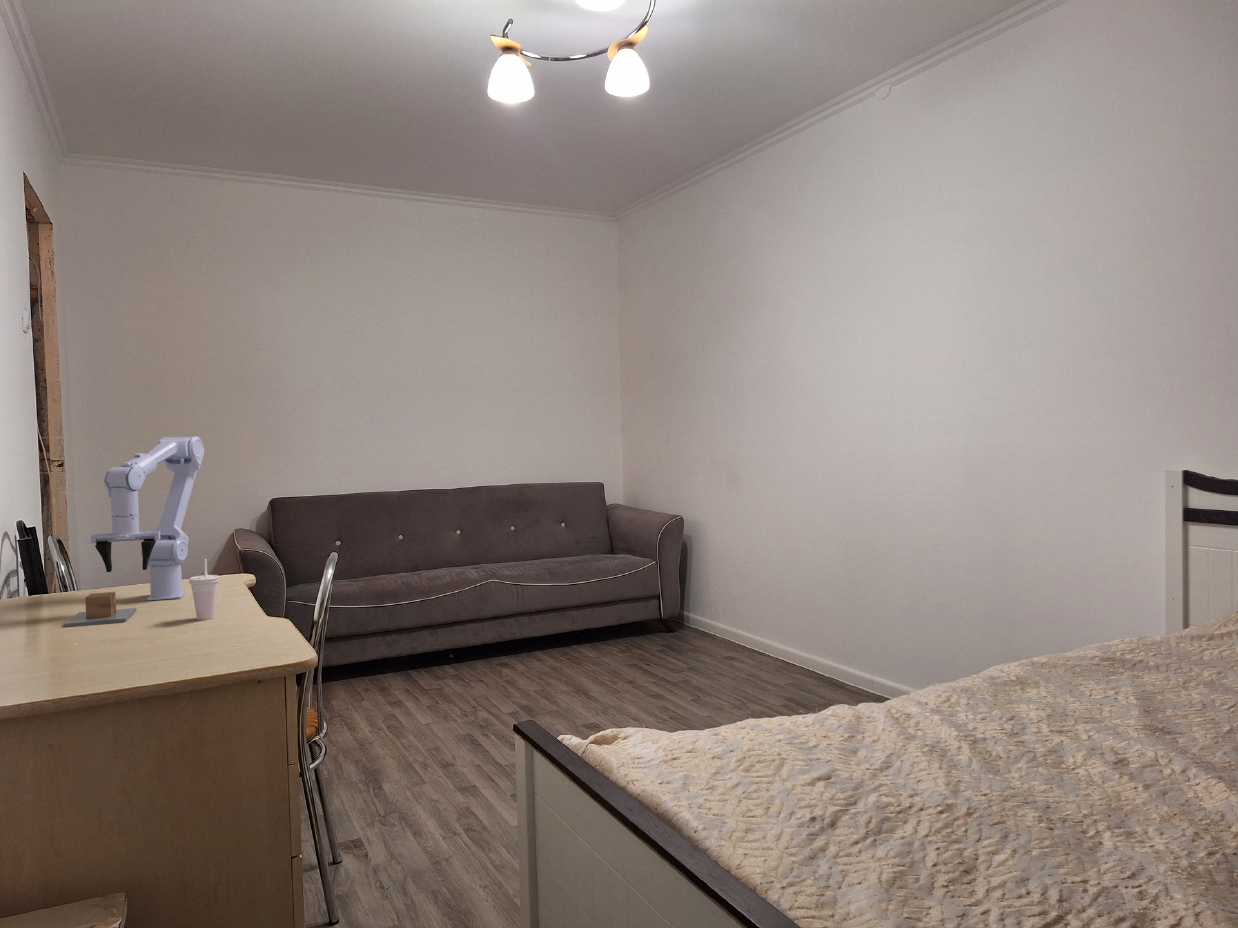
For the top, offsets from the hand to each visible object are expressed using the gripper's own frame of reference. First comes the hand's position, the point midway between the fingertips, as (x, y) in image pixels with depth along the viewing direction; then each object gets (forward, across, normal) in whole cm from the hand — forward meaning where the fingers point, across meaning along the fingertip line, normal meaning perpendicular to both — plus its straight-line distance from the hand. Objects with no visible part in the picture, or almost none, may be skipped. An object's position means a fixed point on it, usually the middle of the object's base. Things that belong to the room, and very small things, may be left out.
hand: (127, 570), depth 196 cm
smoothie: (+10, +19, -17) cm, 27 cm away
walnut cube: (+9, -4, -8) cm, 13 cm away
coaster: (+10, -4, -8) cm, 13 cm away
